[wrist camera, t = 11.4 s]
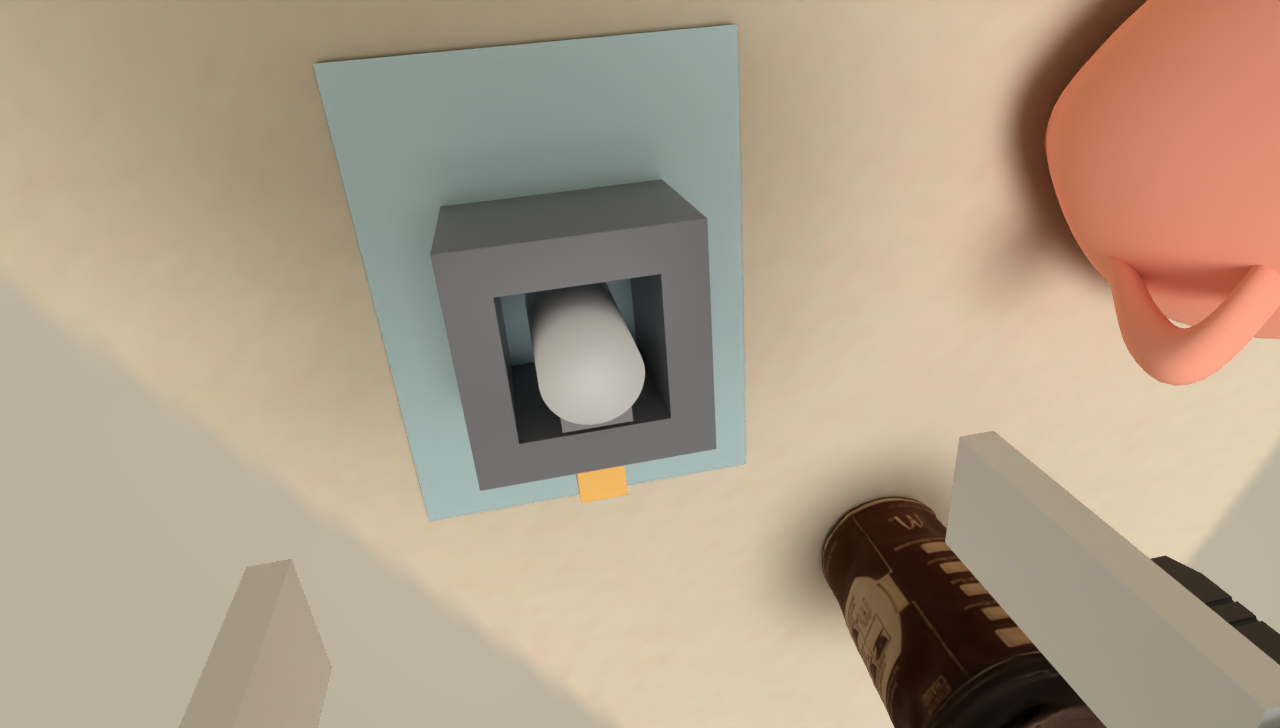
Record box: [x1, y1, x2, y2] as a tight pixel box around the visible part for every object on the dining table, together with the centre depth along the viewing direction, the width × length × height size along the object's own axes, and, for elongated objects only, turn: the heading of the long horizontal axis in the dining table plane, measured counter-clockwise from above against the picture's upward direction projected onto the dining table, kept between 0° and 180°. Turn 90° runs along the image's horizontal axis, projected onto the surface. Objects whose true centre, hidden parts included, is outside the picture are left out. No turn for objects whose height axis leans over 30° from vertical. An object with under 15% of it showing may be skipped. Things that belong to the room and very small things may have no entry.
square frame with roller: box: [430, 179, 717, 503], centre depth 26 cm, size 9×8×6 cm
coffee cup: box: [823, 498, 1107, 728], centre depth 32 cm, size 9×8×13 cm
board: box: [313, 24, 746, 522], centre depth 25 cm, size 18×14×8 cm
